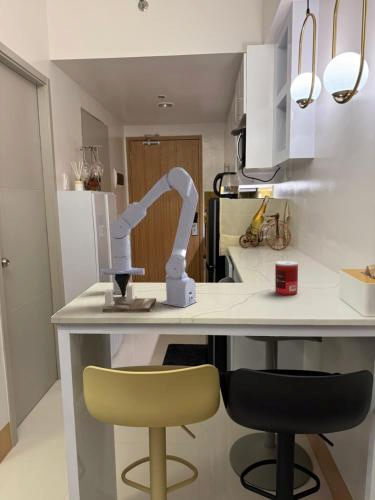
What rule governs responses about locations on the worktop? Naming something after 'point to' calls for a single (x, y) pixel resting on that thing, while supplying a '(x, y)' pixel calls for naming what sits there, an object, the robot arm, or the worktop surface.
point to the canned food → (286, 277)
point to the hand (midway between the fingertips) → (123, 295)
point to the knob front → (109, 298)
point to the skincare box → (116, 285)
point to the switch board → (130, 305)
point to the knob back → (130, 292)
